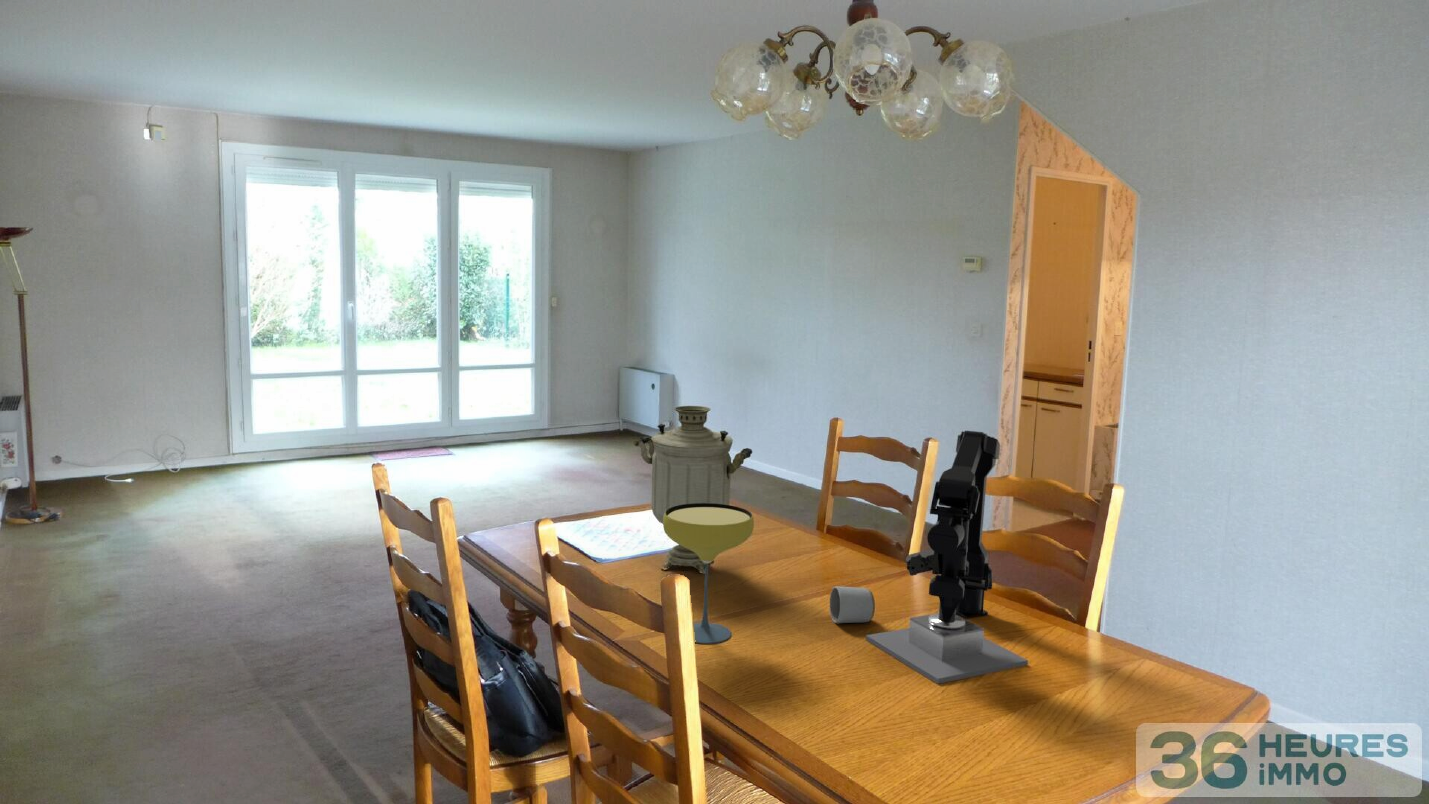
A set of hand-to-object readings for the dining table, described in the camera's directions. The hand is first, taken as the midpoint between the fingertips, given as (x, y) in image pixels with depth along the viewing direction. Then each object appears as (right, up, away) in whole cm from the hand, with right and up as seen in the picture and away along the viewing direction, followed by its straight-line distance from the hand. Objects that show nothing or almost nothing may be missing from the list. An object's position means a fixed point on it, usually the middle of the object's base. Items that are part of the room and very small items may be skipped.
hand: (946, 618), depth 180 cm
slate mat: (0, -7, +1) cm, 7 cm away
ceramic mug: (-17, -4, +17) cm, 25 cm away
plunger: (0, -5, +1) cm, 5 cm away
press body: (0, -7, +1) cm, 7 cm away
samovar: (-51, +1, +52) cm, 73 cm away
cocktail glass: (-48, -5, +6) cm, 48 cm away
